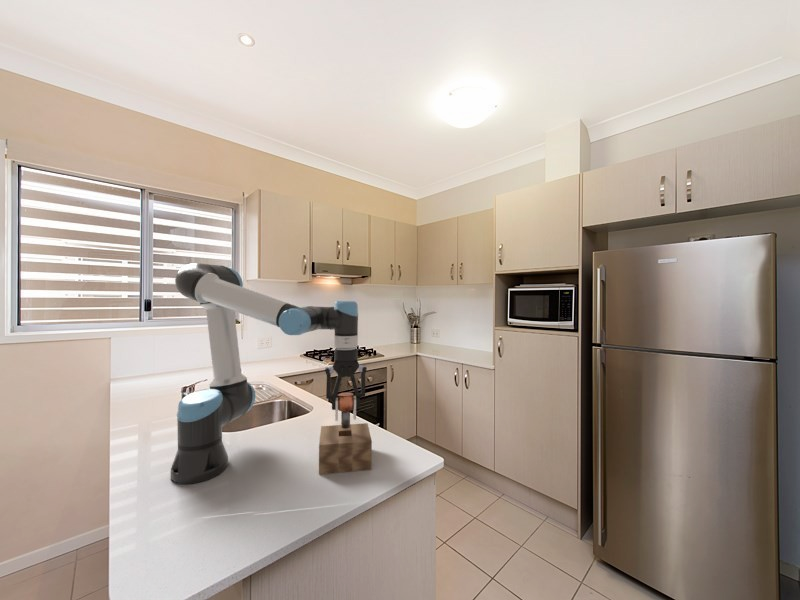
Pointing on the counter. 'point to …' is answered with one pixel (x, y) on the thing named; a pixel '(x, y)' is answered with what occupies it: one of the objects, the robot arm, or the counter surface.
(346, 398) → the copper cylinder with shaft
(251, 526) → the counter surface
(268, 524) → the counter surface
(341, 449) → the hitch block
